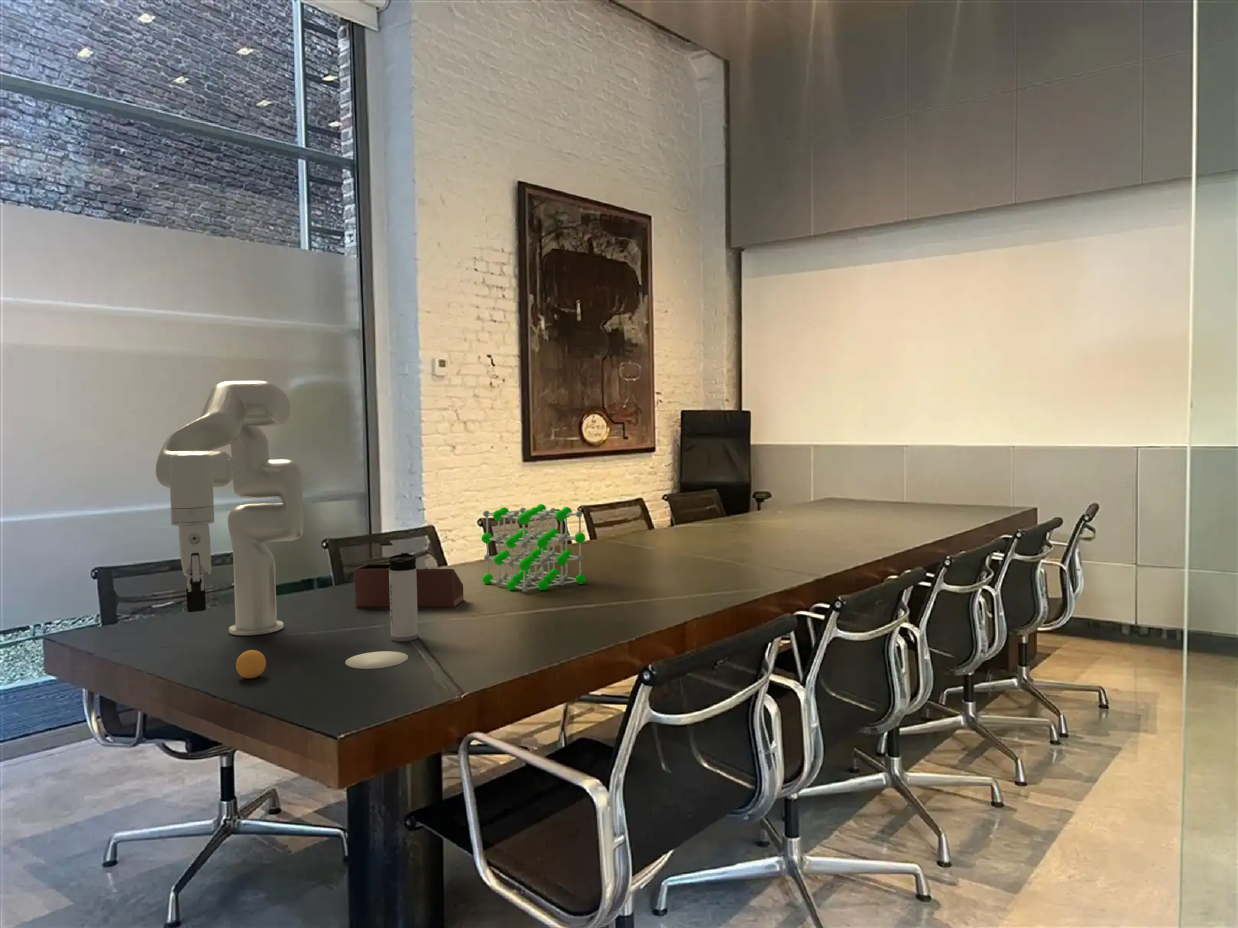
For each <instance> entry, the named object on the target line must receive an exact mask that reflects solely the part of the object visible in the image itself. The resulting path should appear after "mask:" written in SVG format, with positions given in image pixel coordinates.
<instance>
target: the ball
mask: <svg viewBox="0 0 1238 928" xmlns="http://www.w3.org/2000/svg"><path fill="white" fill-rule="evenodd" d="M266 665H267V661H266V657H265V656H264V654H263V653H262V652H260V651H259V650H256V649H249V650H246V651H243V652H242V653H241V654H240V655H239V656H238V657H237V660H236V661H235V669H236V672H237V673H238V674H239V676H241V677H242V678H244V679H255V678H257V677H260V675H262V674H263V672H264V671H265V670H266V667H267V666H266Z"/></svg>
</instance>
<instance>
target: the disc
mask: <svg viewBox="0 0 1238 928" xmlns="http://www.w3.org/2000/svg"><path fill="white" fill-rule="evenodd" d="M407 660H409V655H408V654H407V653H404V652H400V651H390V650H389V651H388V650H387V651H386V650H385V651H372V652H366V653H361V654H360V653H359V654H357V655H353V656H351V657H349V658H347V659H346V660H345V663H344V664H345V665H346V666H347V667H350V668H353V669H360V670H361V669H363V670H370V669H371V670H372V669H373V670H374V669H383V668H389V667H394V666H397V665H400V664H403V663H405V662H406V661H407Z"/></svg>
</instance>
